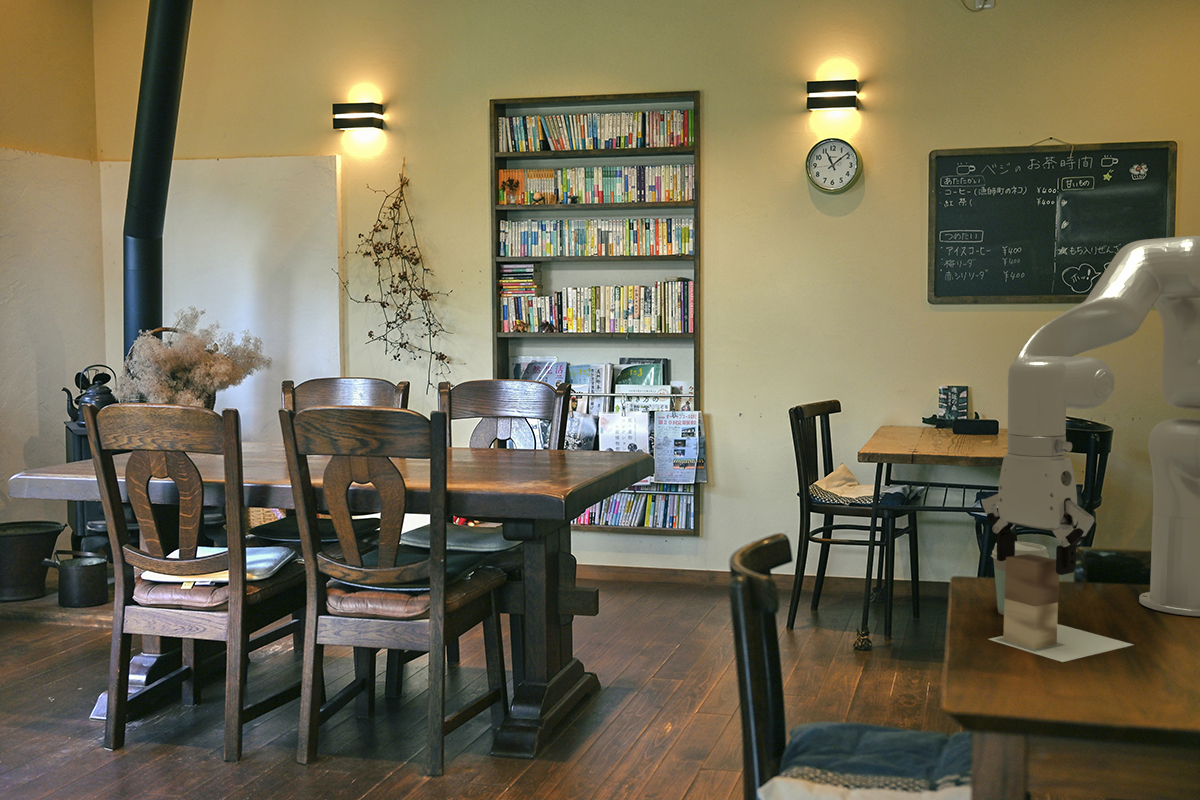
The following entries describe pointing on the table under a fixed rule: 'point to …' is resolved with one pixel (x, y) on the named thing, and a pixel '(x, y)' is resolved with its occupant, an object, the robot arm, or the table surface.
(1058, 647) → the build board
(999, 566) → the coffee cup
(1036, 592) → the walnut block
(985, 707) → the table surface
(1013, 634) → the beech block
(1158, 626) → the table surface
